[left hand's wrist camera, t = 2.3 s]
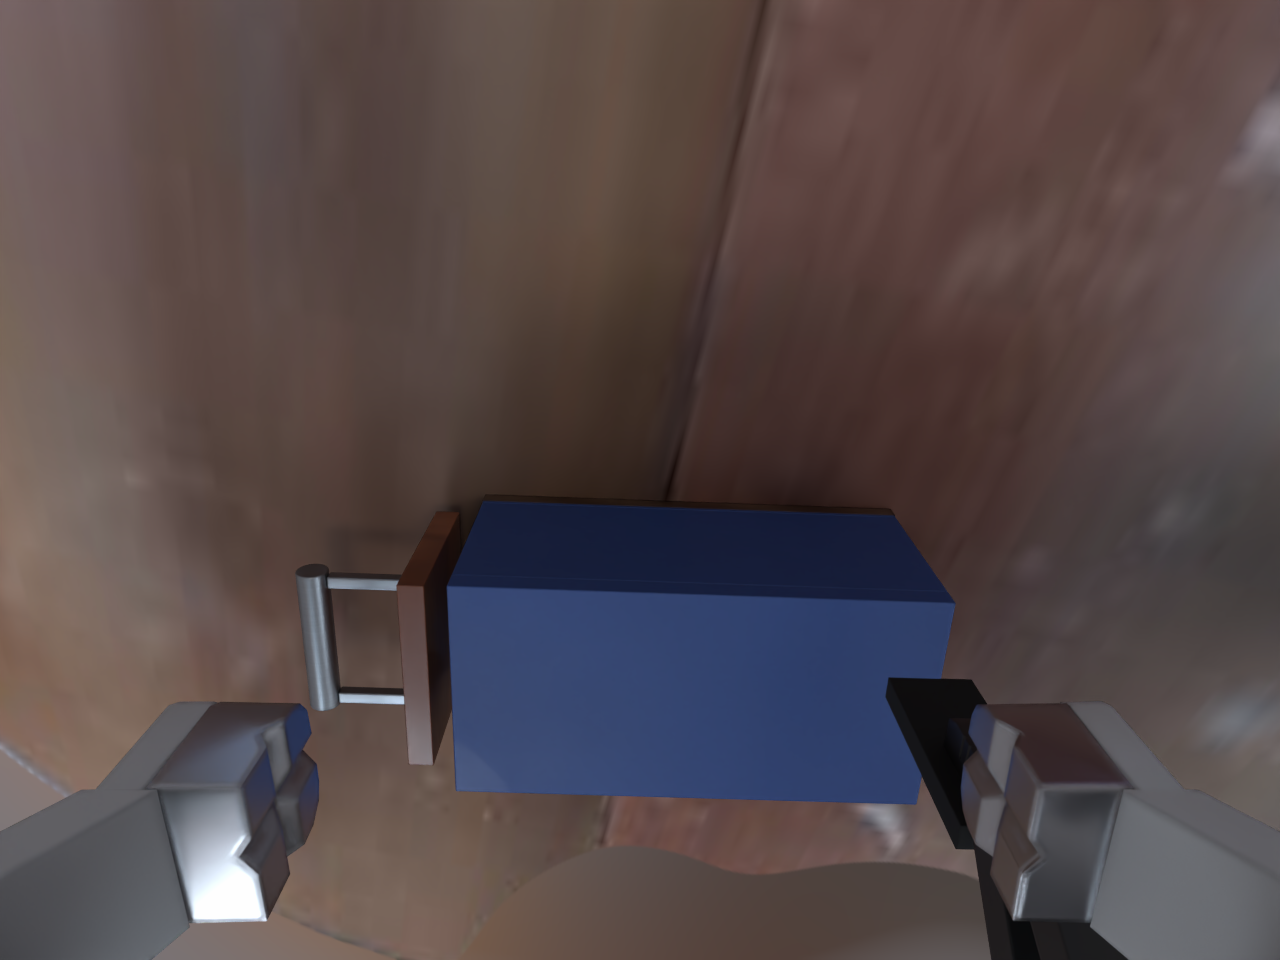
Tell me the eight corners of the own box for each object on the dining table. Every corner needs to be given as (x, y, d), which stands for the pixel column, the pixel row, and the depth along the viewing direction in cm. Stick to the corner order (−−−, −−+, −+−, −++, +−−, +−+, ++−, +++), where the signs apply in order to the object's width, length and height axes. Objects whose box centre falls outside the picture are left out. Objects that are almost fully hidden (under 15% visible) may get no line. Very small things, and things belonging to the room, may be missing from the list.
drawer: (344, 664, 48) (290, 761, 41) (329, 507, 45) (266, 580, 37) (803, 679, 49) (834, 777, 41) (823, 524, 45) (861, 600, 38)
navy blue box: (489, 668, 50) (455, 791, 40) (485, 494, 46) (445, 585, 36) (863, 680, 50) (916, 805, 40) (890, 509, 46) (956, 602, 37)
